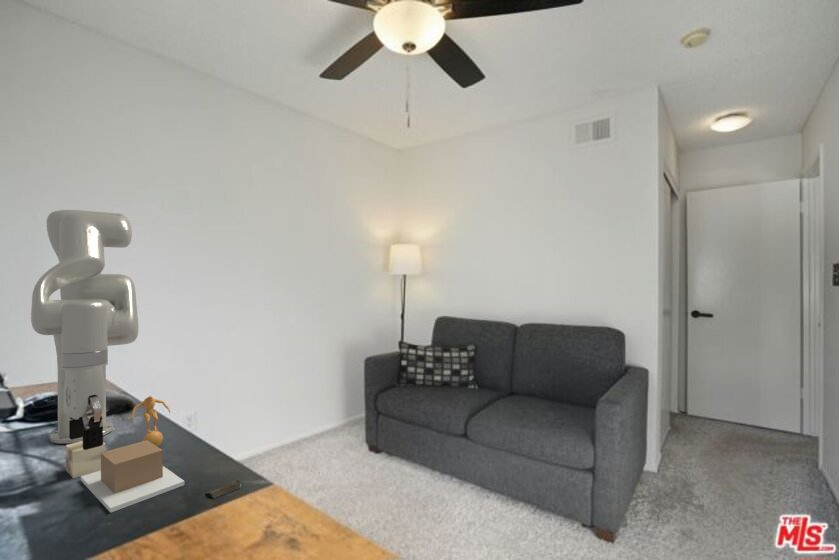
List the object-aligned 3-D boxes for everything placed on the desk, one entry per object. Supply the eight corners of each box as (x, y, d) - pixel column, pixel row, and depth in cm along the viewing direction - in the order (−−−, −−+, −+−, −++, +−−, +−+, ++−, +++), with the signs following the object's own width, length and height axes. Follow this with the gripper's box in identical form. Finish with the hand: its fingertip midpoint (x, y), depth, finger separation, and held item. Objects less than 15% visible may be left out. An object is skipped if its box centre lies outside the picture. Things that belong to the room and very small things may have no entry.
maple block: (66, 470, 87) (65, 445, 87) (97, 461, 91) (97, 437, 91) (73, 478, 83) (72, 452, 83) (105, 469, 88) (105, 443, 88)
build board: (80, 480, 83) (80, 449, 82) (148, 459, 92) (148, 431, 92) (110, 512, 72) (110, 477, 71) (184, 485, 81) (184, 453, 81)
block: (205, 501, 78) (203, 491, 78) (235, 485, 83) (233, 476, 83) (215, 505, 76) (213, 495, 76) (245, 489, 81) (244, 479, 81)
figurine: (135, 456, 94) (134, 403, 93) (127, 448, 98) (126, 397, 97) (175, 444, 100) (175, 395, 100) (166, 438, 104) (166, 390, 104)
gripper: (51, 358, 89) (52, 439, 89) (73, 367, 78) (74, 458, 78) (94, 354, 95) (95, 429, 95) (120, 361, 84) (121, 445, 84)
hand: (85, 442), depth 86 cm, fingers open, 9 cm apart
